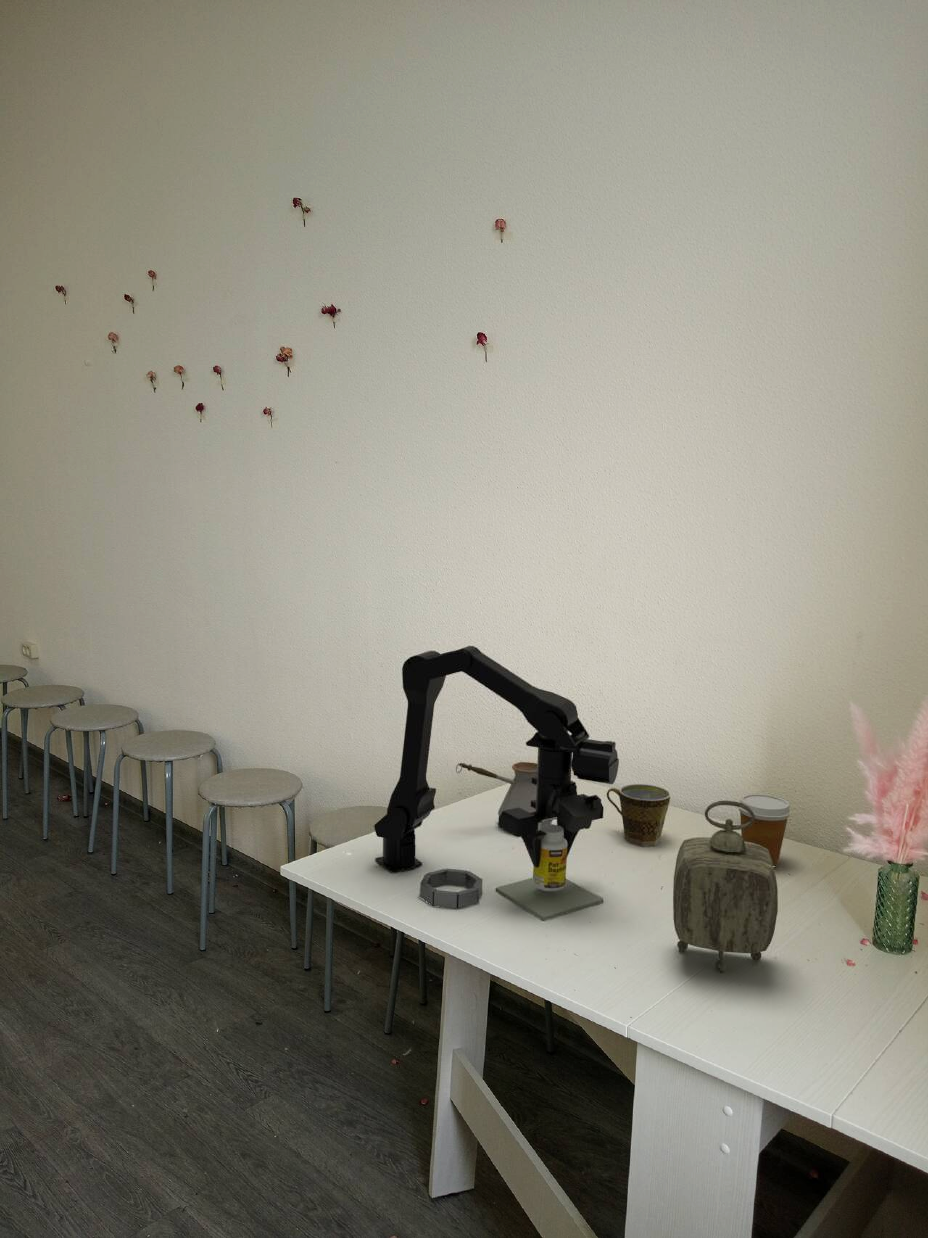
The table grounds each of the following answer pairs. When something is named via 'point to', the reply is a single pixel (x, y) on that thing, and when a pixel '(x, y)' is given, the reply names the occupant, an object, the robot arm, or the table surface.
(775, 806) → the disposable coffee cup
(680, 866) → the tabletop clock
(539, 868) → the supplement bottle
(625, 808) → the ceramic cup
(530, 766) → the grey turkish cezve
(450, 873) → the collar
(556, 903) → the mat
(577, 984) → the table surface
